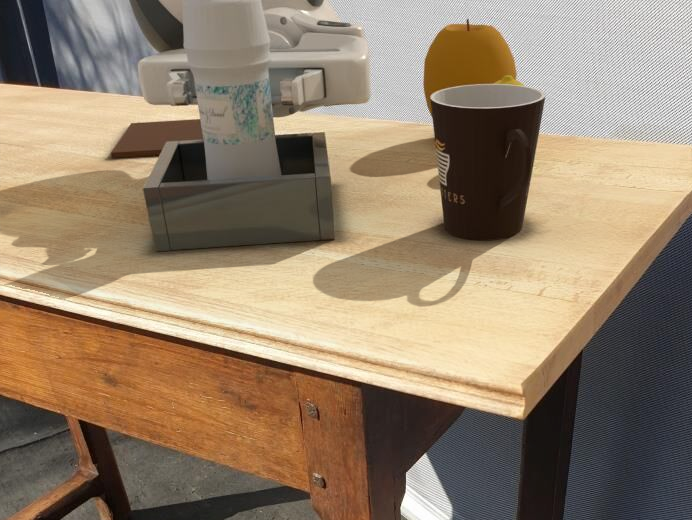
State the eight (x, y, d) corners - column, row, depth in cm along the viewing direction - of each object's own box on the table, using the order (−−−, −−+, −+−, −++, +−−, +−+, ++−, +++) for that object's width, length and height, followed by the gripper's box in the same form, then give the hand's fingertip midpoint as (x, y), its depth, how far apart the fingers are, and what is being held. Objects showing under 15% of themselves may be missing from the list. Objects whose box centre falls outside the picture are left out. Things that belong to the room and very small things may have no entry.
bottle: (195, 218, 73) (150, -51, 61) (256, 199, 76) (224, -58, 65) (242, 235, 69) (203, -50, 57) (304, 214, 72) (278, -57, 61)
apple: (524, 131, 93) (531, 13, 86) (493, 153, 86) (497, 26, 80) (444, 125, 97) (445, 11, 90) (408, 145, 90) (406, 24, 83)
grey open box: (155, 251, 66) (142, 188, 63) (176, 197, 78) (166, 141, 75) (335, 239, 67) (330, 176, 64) (329, 187, 79) (325, 131, 76)
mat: (111, 158, 91) (110, 152, 90) (132, 128, 102) (131, 123, 102) (240, 150, 91) (239, 144, 91) (246, 121, 103) (245, 116, 102)
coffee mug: (437, 208, 72) (437, 84, 67) (537, 210, 71) (546, 83, 65) (418, 257, 63) (417, 118, 57) (534, 261, 62) (544, 118, 56)
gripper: (164, 28, 77) (101, 53, 66) (380, 24, 75) (352, 49, 63) (176, 100, 81) (118, 135, 70) (383, 99, 78) (357, 136, 67)
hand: (231, 94), depth 67 cm, fingers open, 8 cm apart
